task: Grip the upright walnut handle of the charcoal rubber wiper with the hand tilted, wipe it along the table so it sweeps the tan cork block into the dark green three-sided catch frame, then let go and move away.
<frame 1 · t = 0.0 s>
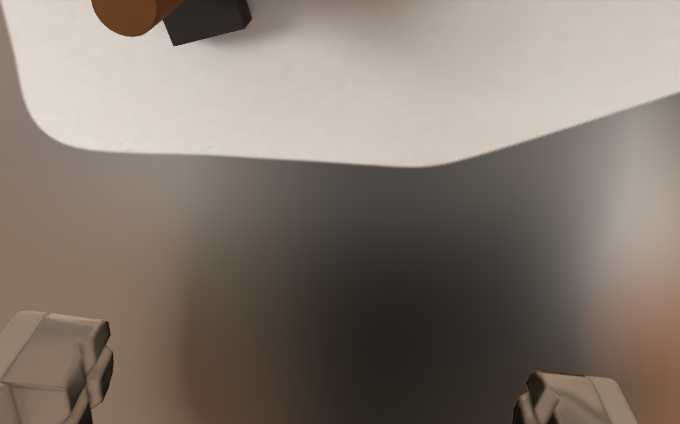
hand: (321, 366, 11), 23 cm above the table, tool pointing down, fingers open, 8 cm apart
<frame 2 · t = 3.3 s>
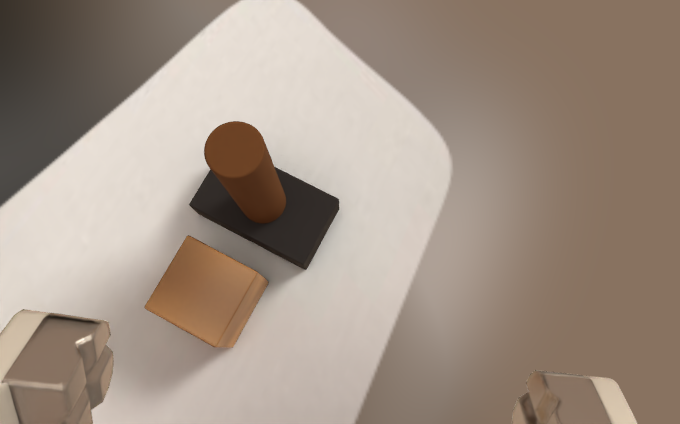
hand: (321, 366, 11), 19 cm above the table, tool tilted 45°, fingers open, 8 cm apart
wiper: (268, 211, 31), on the table
cork block: (219, 297, 30), on the table
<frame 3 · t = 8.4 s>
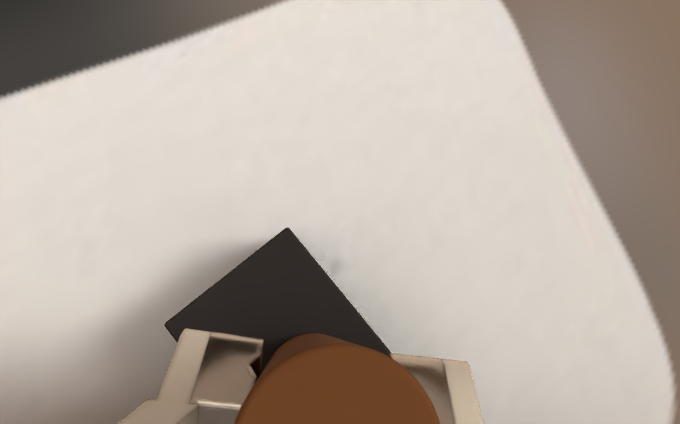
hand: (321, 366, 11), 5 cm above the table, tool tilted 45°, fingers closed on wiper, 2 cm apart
wiper: (310, 374, 16), on the table, touching gripper
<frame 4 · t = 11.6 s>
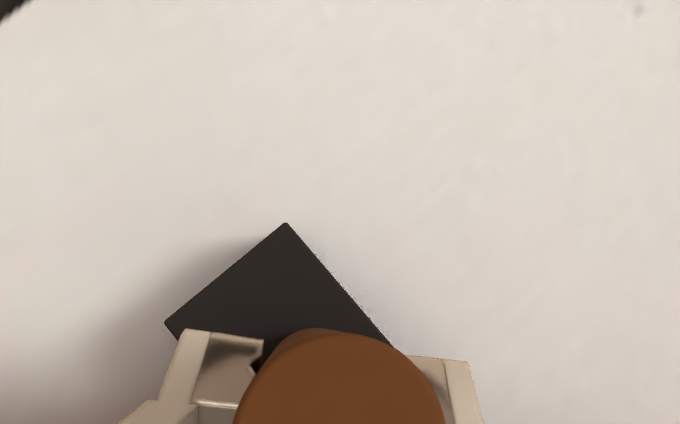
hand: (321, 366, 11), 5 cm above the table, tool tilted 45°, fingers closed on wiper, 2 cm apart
wiper: (311, 369, 16), on the table, touching gripper
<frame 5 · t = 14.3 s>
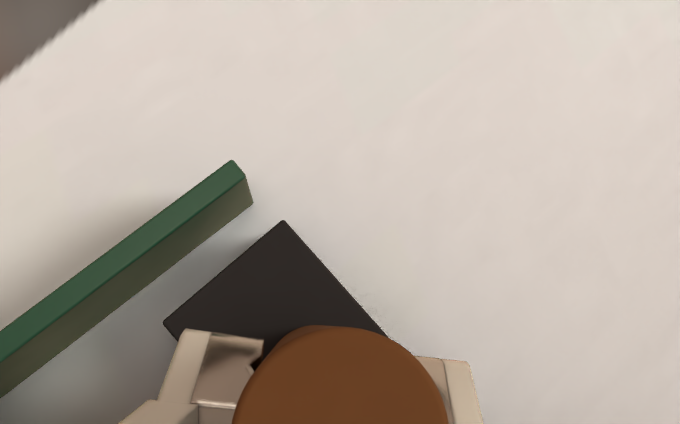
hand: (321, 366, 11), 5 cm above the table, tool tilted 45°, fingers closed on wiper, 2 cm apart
wiper: (311, 367, 16), on the table, touching cork block, gripper
when the fingers open (5 cm above the table, at t = 14.7 s): wiper stays where it is, on the table.
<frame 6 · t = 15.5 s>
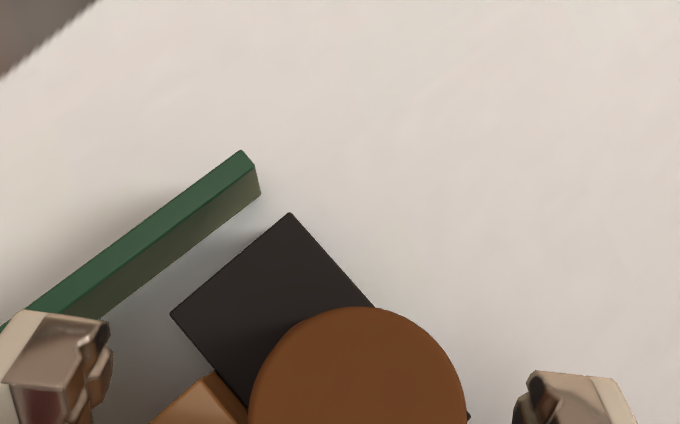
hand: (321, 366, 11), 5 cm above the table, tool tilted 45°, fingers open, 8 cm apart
wiper: (317, 360, 16), on the table
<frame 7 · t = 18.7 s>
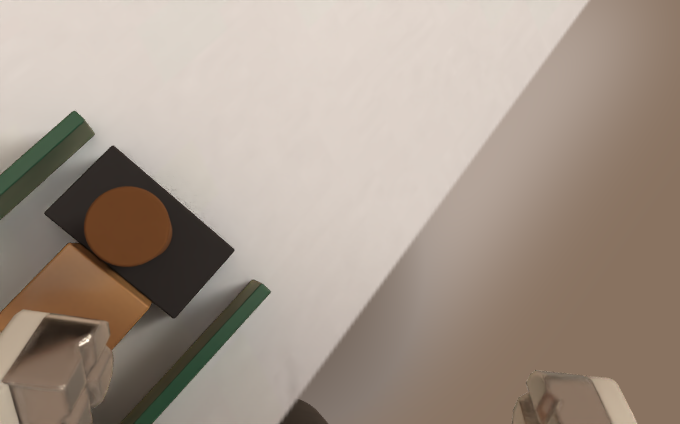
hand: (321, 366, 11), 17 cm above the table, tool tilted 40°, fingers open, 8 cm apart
catch frame: (92, 292, 25), on the table
wiper: (146, 233, 26), on the table
cork block: (88, 304, 25), on the table
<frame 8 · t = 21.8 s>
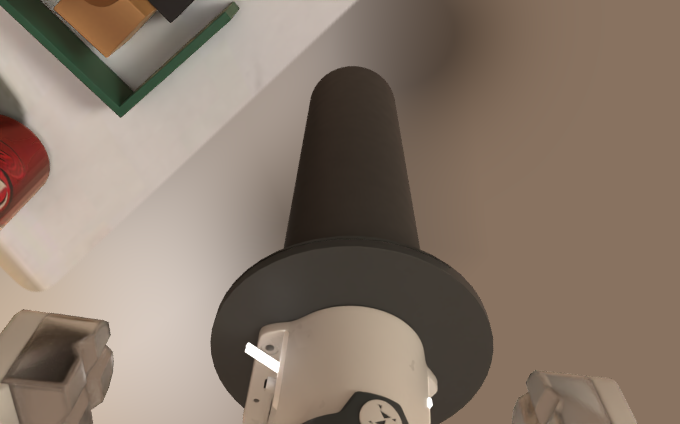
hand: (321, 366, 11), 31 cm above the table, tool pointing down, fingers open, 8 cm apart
soda can: (7, 150, 43), on the table
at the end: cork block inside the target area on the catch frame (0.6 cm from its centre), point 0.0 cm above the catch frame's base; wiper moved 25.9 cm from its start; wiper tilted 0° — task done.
